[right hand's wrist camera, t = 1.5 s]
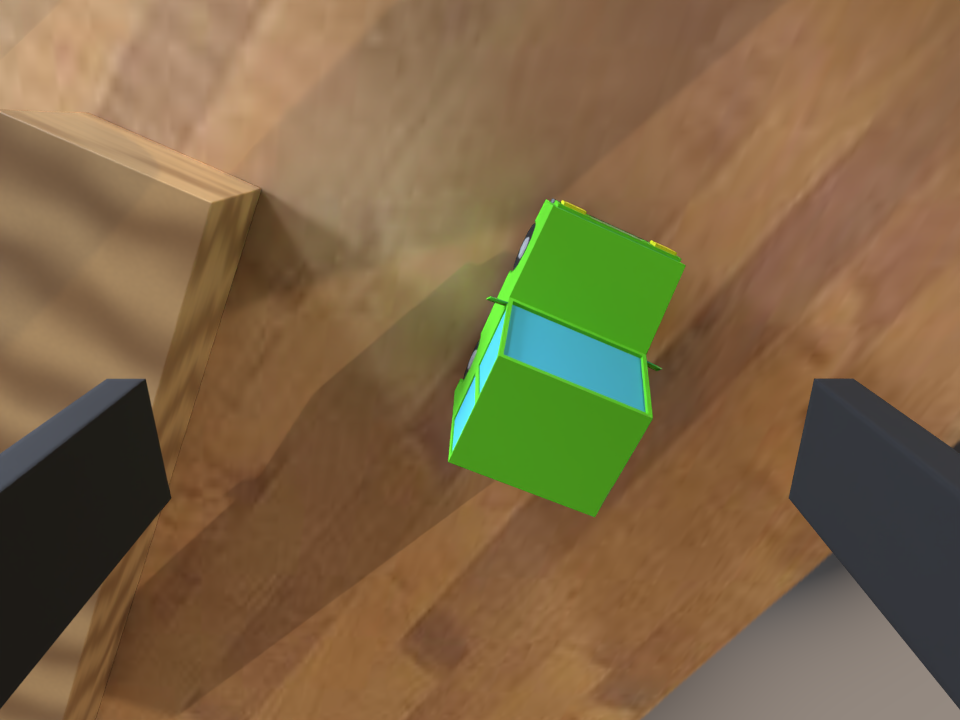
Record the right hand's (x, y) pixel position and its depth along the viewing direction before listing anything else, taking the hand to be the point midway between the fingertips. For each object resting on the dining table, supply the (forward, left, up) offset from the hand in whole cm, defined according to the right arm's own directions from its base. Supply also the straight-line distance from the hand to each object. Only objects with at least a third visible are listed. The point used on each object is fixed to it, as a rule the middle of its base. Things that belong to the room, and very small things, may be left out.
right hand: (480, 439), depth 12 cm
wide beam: (+4, -42, -26) cm, 50 cm away
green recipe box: (+7, +1, -26) cm, 27 cm away
